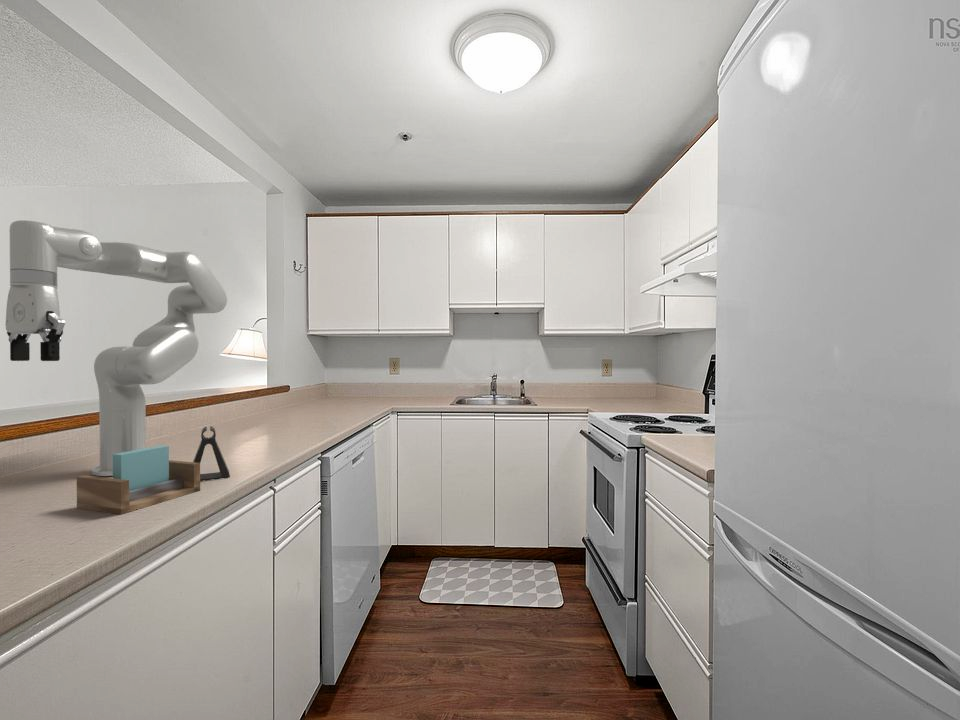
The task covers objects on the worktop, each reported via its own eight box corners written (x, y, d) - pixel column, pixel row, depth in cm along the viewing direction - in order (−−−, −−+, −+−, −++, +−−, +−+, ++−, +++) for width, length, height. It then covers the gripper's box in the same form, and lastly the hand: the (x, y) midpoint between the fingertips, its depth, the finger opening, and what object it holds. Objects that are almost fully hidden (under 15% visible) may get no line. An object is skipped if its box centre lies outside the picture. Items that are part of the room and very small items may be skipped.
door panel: (160, 486, 106) (160, 445, 106) (169, 487, 105) (168, 446, 105) (112, 499, 96) (112, 454, 96) (121, 501, 96) (121, 455, 95)
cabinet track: (159, 485, 110) (159, 459, 110) (200, 490, 107) (200, 462, 107) (76, 507, 94) (76, 476, 94) (121, 514, 91) (120, 482, 90)
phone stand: (229, 472, 123) (229, 425, 123) (229, 477, 118) (229, 428, 118) (187, 476, 119) (187, 427, 119) (186, 482, 113) (186, 430, 113)
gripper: (-14, 280, 104) (-13, 360, 104) (40, 276, 98) (41, 361, 98) (28, 285, 111) (29, 360, 111) (81, 281, 105) (81, 360, 106)
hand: (34, 360), depth 105 cm, fingers open, 9 cm apart
